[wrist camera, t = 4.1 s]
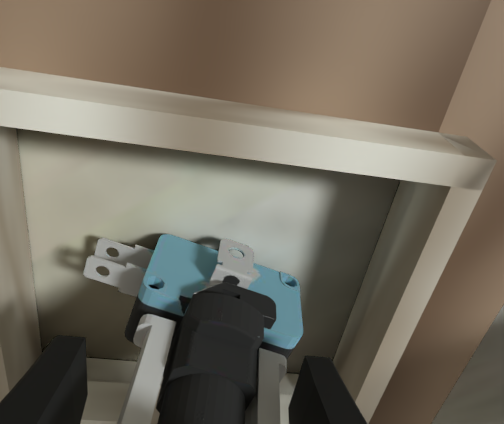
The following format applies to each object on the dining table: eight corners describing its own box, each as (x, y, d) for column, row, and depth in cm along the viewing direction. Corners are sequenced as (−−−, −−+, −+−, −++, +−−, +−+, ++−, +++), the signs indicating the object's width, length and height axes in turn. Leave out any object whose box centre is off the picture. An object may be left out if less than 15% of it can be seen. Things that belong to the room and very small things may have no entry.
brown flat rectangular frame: (635, 24, 11) (757, 47, 8) (399, 440, 20) (424, 512, 18) (-249, -146, 9) (-450, -186, 6) (-66, 412, 18) (-116, 491, 15)
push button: (86, 294, 15) (-162, 755, 6) (122, 162, 12) (-213, 635, 4) (266, 350, 16) (263, 809, 7) (333, 239, 13) (448, 743, 5)
